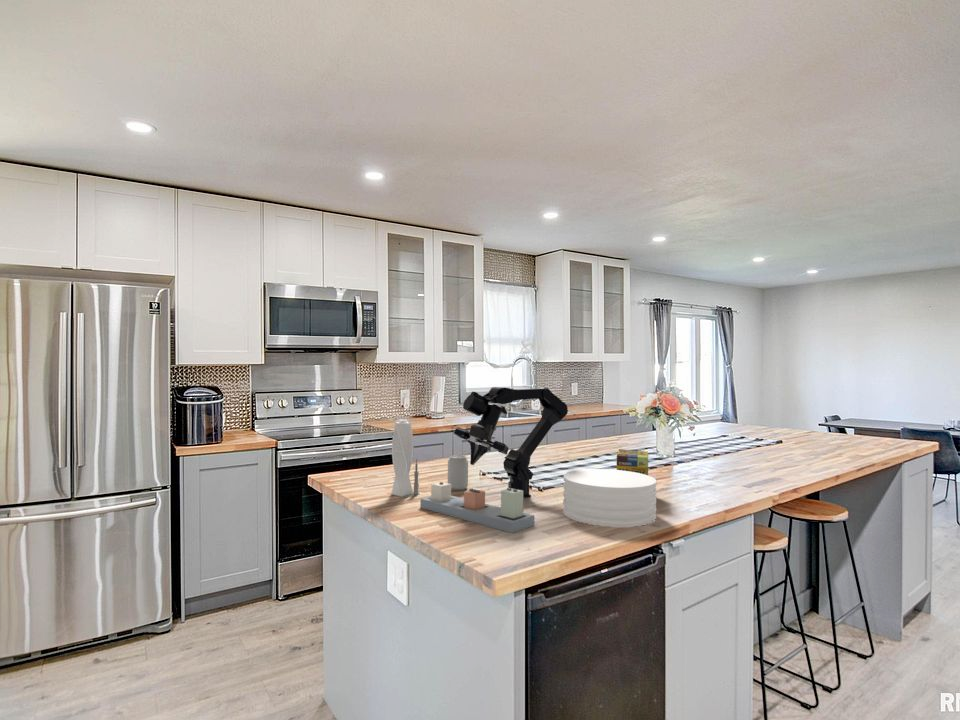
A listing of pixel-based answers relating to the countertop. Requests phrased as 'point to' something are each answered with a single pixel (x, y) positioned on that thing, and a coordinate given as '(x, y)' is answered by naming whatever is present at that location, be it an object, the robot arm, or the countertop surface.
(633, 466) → the protein box
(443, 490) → the cream block
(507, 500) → the green block
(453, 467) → the can
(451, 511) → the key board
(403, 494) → the skyscraper
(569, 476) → the plate stack
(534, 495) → the countertop surface
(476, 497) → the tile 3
